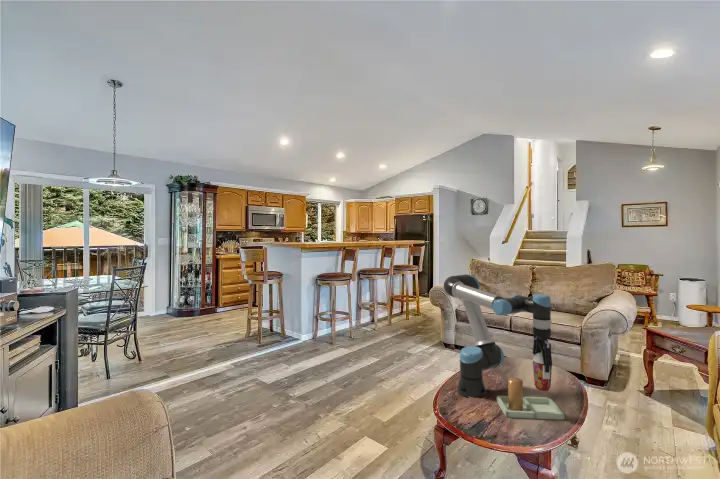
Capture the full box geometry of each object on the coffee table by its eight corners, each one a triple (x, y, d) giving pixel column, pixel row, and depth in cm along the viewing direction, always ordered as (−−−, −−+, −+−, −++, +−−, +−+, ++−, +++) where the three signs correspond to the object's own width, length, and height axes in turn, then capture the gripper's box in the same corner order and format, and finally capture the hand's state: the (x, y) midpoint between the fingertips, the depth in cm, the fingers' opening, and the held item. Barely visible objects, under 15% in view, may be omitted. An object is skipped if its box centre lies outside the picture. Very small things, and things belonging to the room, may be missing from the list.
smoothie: (556, 390, 159) (556, 348, 159) (544, 394, 156) (543, 351, 155) (540, 383, 167) (540, 343, 166) (528, 386, 163) (528, 345, 163)
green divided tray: (506, 419, 156) (506, 411, 156) (496, 402, 171) (496, 395, 171) (564, 421, 153) (564, 414, 153) (549, 404, 169) (549, 397, 168)
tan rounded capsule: (510, 412, 160) (510, 383, 160) (506, 405, 167) (506, 377, 166) (524, 412, 159) (524, 383, 159) (520, 405, 166) (519, 377, 166)
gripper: (560, 334, 150) (561, 384, 150) (540, 321, 171) (541, 366, 171) (543, 333, 151) (543, 384, 151) (525, 321, 172) (525, 365, 172)
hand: (542, 374), depth 161 cm, fingers closed on smoothie, 8 cm apart
